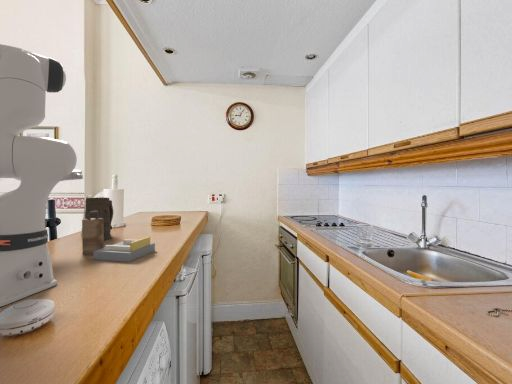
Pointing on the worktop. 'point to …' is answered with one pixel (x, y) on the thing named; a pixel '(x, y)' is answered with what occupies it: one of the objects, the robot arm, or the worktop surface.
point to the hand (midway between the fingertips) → (70, 177)
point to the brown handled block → (92, 233)
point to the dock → (125, 250)
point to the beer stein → (101, 212)
